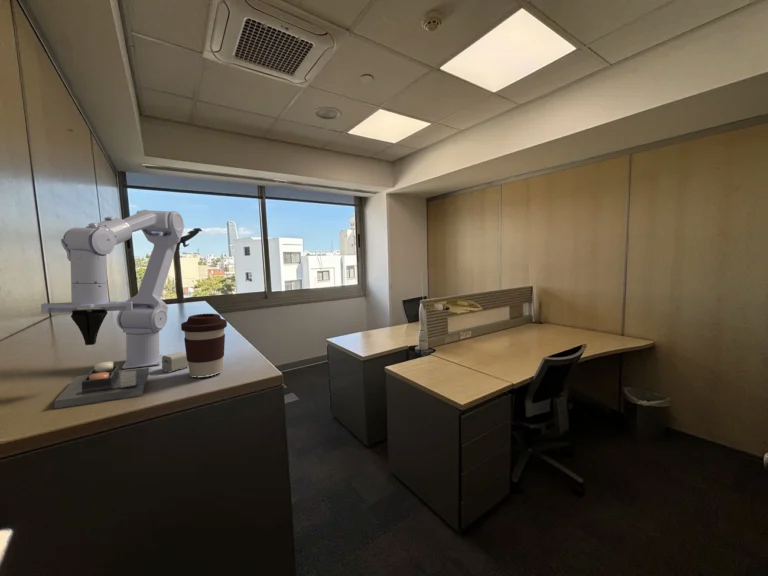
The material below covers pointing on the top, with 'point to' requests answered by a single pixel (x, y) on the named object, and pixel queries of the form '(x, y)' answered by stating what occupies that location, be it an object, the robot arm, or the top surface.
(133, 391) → the control panel
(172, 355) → the usb wall charger
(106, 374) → the terracotta button
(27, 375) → the top surface
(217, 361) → the coffee cup
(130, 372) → the light grey block
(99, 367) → the off-white button
